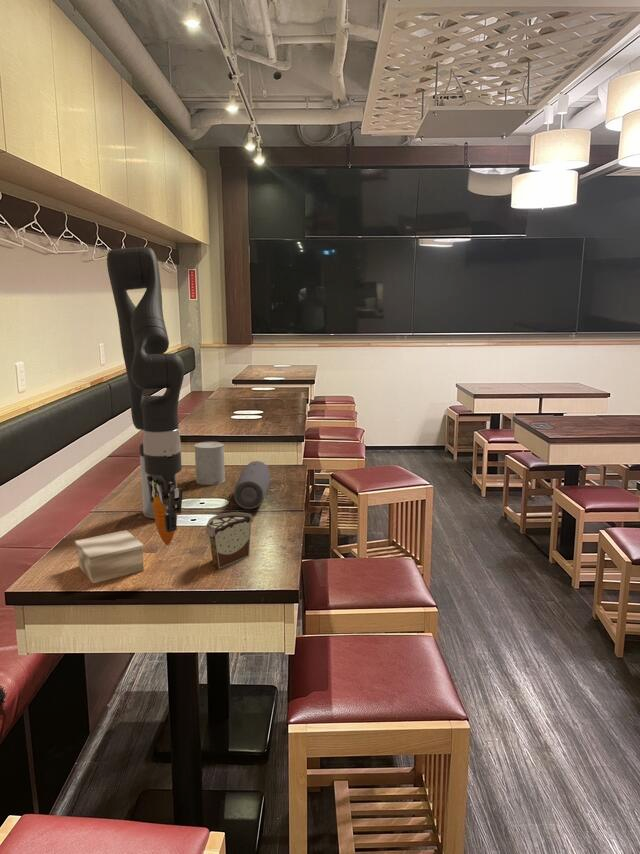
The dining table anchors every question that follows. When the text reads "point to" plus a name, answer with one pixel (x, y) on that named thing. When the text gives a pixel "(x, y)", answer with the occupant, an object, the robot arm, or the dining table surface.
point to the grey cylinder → (209, 463)
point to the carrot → (161, 519)
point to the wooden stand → (110, 556)
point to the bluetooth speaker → (252, 485)
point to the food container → (229, 537)
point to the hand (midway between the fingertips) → (166, 526)
